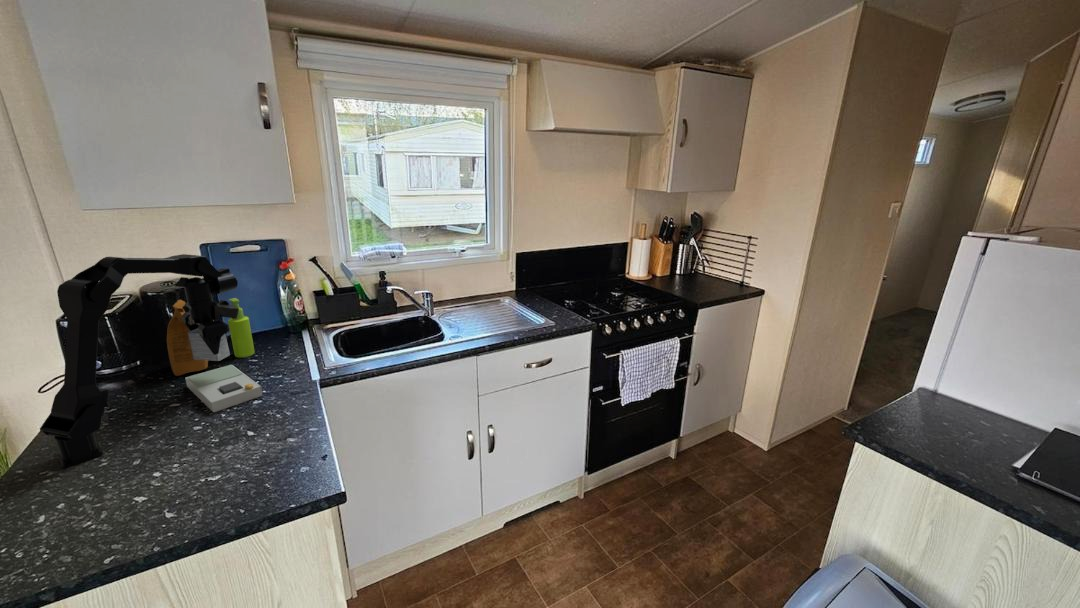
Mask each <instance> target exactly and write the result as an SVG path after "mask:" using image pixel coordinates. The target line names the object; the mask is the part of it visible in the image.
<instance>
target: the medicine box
mask: <svg viewBox="0 0 1080 608" xmlns="http://www.w3.org/2000/svg"><path fill="white" fill-rule="evenodd" d="M199 335H200V334H199V331H198V329H195V330H192V331H190V332H188V336H189V340H190V344H191V349H192V353H193V357H194V360H208V361H214V362H219V361H222V360H223V359H225V358H227V357H229V356H230V355H231V354H230V353H231V352H230V349H229V345H228V339H227V335H226V334H224V335H223V336H222V337H221V341H220V347H219V353H218V354H216V355H214V354H213V353H212V352H211V350H210V349H209V348H208V346H207V345H206V344H205V342H204V341H203V340H202V338H201V337H200V336H199Z"/></svg>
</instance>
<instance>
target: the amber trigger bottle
mask: <svg viewBox="0 0 1080 608" xmlns="http://www.w3.org/2000/svg"><path fill="white" fill-rule="evenodd" d="M185 306H186V302H185V300H182V299H178V300H177V301H176V302H175V303H174V304H173V305H172V308H173V309H174V313H173V316H172V317H171V319H170V320H169V322H168V325H167V330H166V331H167V333H166V346H167V354H168V359H169V364H170V367H171V371H172V373H173V375H174V376H176V377H177V376H178V377H179V376H182V375H186V374H188V373H189V374H190V373H192V372H193V373H194V372H199V371H203V370H206V369H208V365H209V360H194V357H193V353H192V349H191V344H190V340H189V336H188V332H190V330H189V329H188V328H187V327H186V326H185V323H183V322H182V317H181V316H182V315H183V314H184V313H185V312H186V311H185V309H184V307H185Z"/></svg>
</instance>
